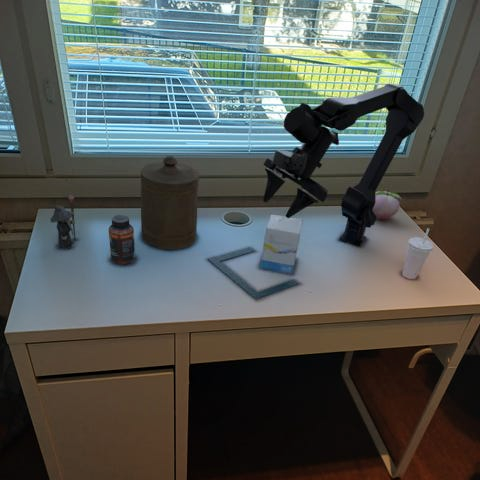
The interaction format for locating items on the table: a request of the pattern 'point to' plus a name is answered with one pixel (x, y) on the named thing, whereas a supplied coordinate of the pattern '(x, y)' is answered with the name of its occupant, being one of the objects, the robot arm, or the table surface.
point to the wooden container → (169, 204)
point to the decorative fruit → (386, 204)
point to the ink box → (281, 243)
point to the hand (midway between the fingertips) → (275, 209)
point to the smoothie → (416, 255)
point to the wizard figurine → (64, 224)
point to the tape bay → (240, 282)
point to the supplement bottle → (121, 240)
